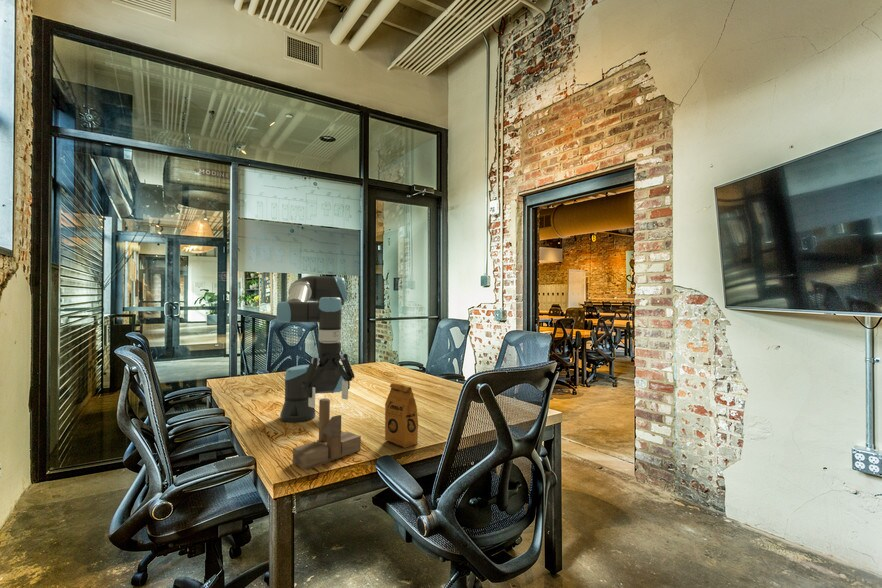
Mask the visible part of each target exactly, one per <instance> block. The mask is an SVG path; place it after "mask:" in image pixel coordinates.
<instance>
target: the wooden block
mask: <svg viewBox="0 0 882 588" xmlns="http://www.w3.org/2000/svg"><path fill="white" fill-rule="evenodd" d="M318 401H319V402H318V405H319V407H318V408H319V409H318V411H319V412H318V439H317V440H316V442H317V443H320V444H322V445H325V446H327V447H328V457H329V458H331V459H333V458H337V457H340V456H341V436H340V435H341V433H342V414H338V415H333V416H331V417H330V415H331V414H330V412H331V411H330V410H331V407H330V406H331V399H330V398H327V397H326V398H324V397H323V398H320V399H319V400H318ZM340 458H341V457H340Z"/></svg>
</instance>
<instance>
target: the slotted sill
mask: <svg viewBox="0 0 882 588" xmlns="http://www.w3.org/2000/svg"><path fill="white" fill-rule="evenodd" d="M340 436H341V456H340V457H337V458H333V459H331V458H329V457H328V447H327V446H325V445H322V444H320V443H317V441H312V442H309V443H305V444H302V445H299V446H296V447H292V464H293V465H295V466H297V467H300V468H302V469H304V470H306V471H308V470H310V469H313V468H315V467H319V466H321V465H324V464H326V463H330V462H332V461H334V460H338V459H340V458H343V457H345V456H349V455H351V454H353V453H356V452H359V451H361V449H362V448H361V447H362V446H361V445H362V444H361V442H362V440H361V439H362V438H361V437H362V436H361V435H359V434H355V433H354V432H350V431H343V432H341V435H340Z"/></svg>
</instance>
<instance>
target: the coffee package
mask: <svg viewBox="0 0 882 588" xmlns="http://www.w3.org/2000/svg"><path fill="white" fill-rule="evenodd" d="M389 387H390V391H389V393H388V395H387V398H386V401H385V404H384V405H385V406H384V409H385V410H384V411H385V413H384V419H385V420H384V422H385V423H384V440H385V441H388V442H390V443H393V444H394V445H396V446H400V447H402V448H405V449H406V448H408V447H411V446H412V447H413V446H417V444H419V443H418V438H419V433H418V432H419V431H418V429H419V419H418V417H419V416H418V405H417V404H416V403H417V402H416V399H415V396H414V392H413V389H412V387H411V386H407V385H405V384H404V385H403V384H401V383H400V384H399V383H394V382H391V383H390V385H389Z"/></svg>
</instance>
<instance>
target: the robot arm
mask: <svg viewBox="0 0 882 588" xmlns="http://www.w3.org/2000/svg"><path fill="white" fill-rule="evenodd" d="M287 294H288V297H287V299H286V300H285V301H279V302H278V303H277V304H276V320H277V321H278V323H286V324H290V323H293V324H294V323H318V341H319V343H318V346H317V347H318V351H317V352H318V357H313V356H312V357H310V359H309V364H300V365H297V366H296V365H295V366H292V367H289V368H288V369H286V370H285V374H284V376H285V377H284V402H283V405H282V409H281V411H280V413H279V415H280V416H279V417H280V419H279V420H280V421H281V422H286V423H301V422H306V421H310V420H312V419H314V418H315V417H316V409H315V408H316V394H334V393H336V394H337V393H341V400H349V390H350V385H351V384H350V383H351V381H352V380H353V379H354V378H355V374H354V371H353V369H352V366H351V364H350V361H349V358H348V357H349V356H348V354H347V353H343V352H342V349H341V348H342V342H341V340H342V338H341V337H342V308H343V307H344V306H345V302H348V297H347V296H348V295H347V294H348V293H347V286H346V280H345V278H344V277H342V276H332V275H331V276H329V275H328V276H327V275H326V276H325V275H308V276H304V277H301V278H298V279H296V280H294V281H293V282H292V283H291V284H290V286H289V289H288V293H287Z"/></svg>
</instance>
